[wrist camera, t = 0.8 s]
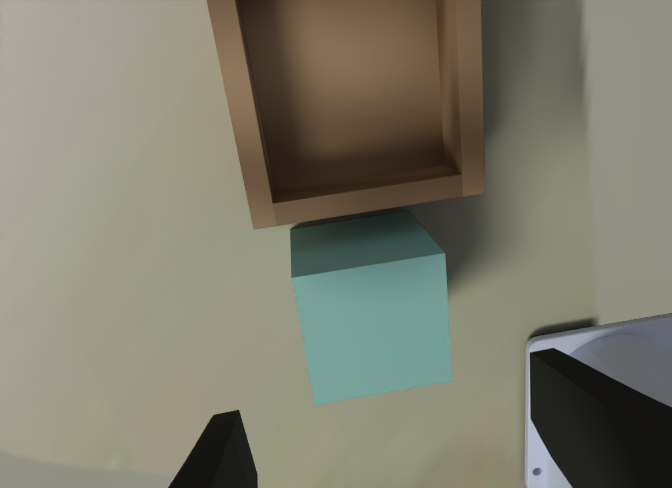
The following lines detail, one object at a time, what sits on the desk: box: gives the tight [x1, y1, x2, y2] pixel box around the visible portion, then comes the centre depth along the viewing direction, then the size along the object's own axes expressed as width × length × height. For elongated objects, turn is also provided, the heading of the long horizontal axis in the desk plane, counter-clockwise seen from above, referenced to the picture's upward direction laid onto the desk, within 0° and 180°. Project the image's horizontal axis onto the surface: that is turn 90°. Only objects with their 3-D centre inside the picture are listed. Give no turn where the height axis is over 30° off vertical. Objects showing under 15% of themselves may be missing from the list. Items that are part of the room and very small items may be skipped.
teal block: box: [290, 211, 452, 405], centre depth 19 cm, size 5×5×5 cm
